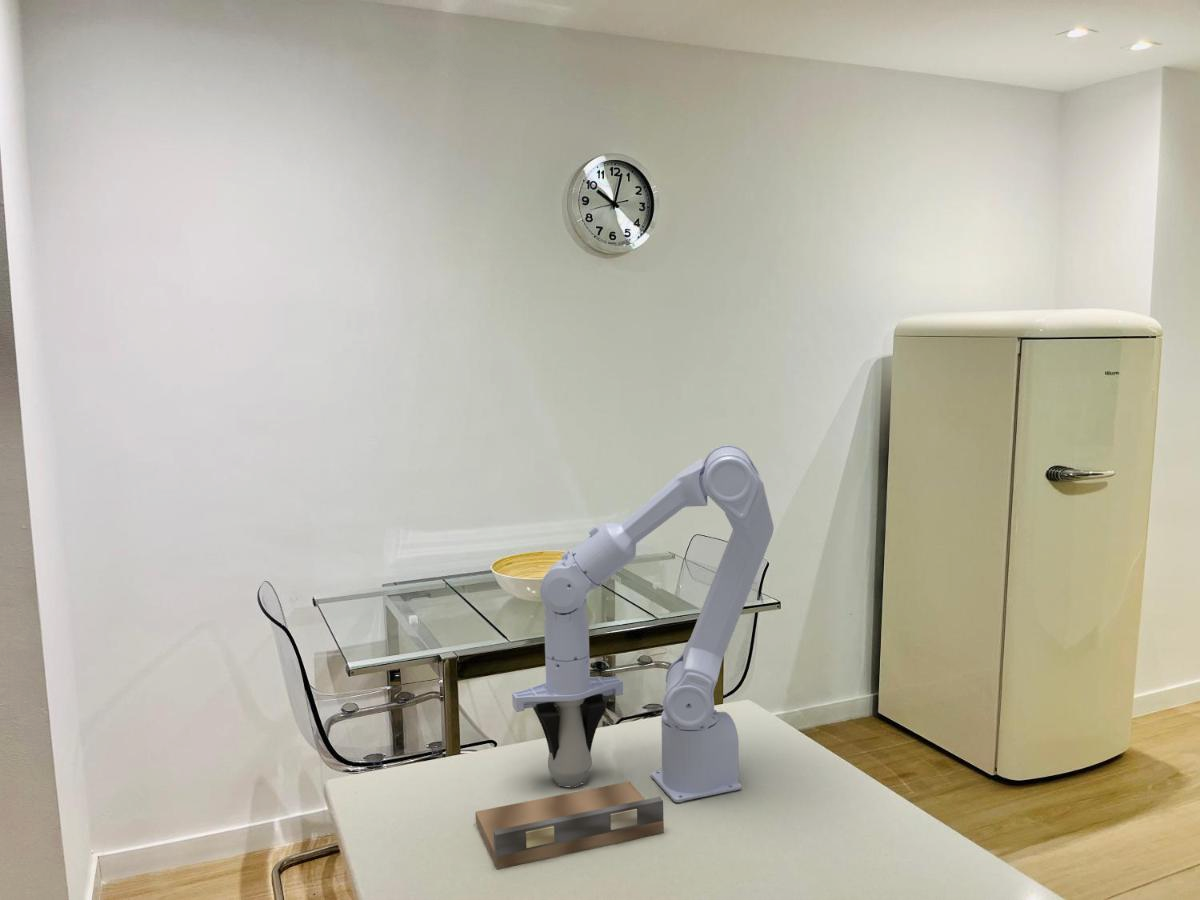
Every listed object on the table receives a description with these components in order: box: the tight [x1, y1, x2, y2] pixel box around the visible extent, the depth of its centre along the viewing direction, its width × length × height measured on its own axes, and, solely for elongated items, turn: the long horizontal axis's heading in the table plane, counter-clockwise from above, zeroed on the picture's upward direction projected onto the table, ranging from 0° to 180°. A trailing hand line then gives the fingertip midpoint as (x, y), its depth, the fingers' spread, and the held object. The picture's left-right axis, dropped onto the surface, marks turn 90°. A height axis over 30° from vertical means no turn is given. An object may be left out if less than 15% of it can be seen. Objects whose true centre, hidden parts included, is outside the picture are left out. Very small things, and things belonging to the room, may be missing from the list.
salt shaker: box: [547, 698, 593, 788], centre depth 121 cm, size 6×6×13 cm
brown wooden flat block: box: [474, 780, 665, 870], centre depth 110 cm, size 20×11×4 cm, turn 110°
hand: (569, 754), depth 122 cm, fingers open, 4 cm apart
